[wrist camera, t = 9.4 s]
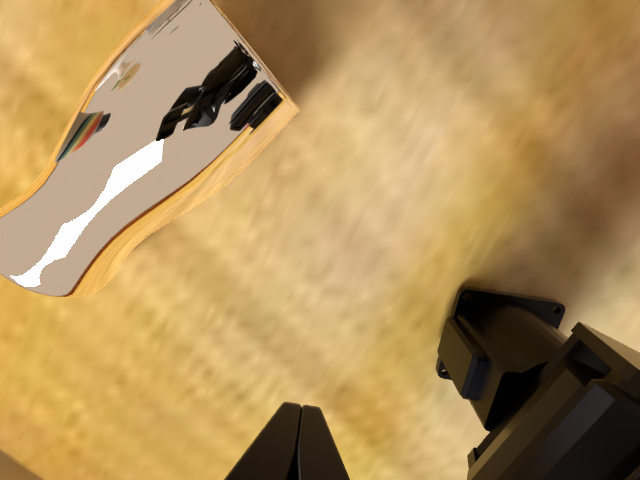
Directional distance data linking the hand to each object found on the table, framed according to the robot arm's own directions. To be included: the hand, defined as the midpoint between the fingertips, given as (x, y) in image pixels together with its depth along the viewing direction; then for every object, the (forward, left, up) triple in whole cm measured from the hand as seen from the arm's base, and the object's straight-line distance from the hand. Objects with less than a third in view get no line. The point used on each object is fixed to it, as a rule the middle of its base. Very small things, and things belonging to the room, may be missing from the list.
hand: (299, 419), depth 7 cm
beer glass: (+15, +2, -10) cm, 18 cm away
